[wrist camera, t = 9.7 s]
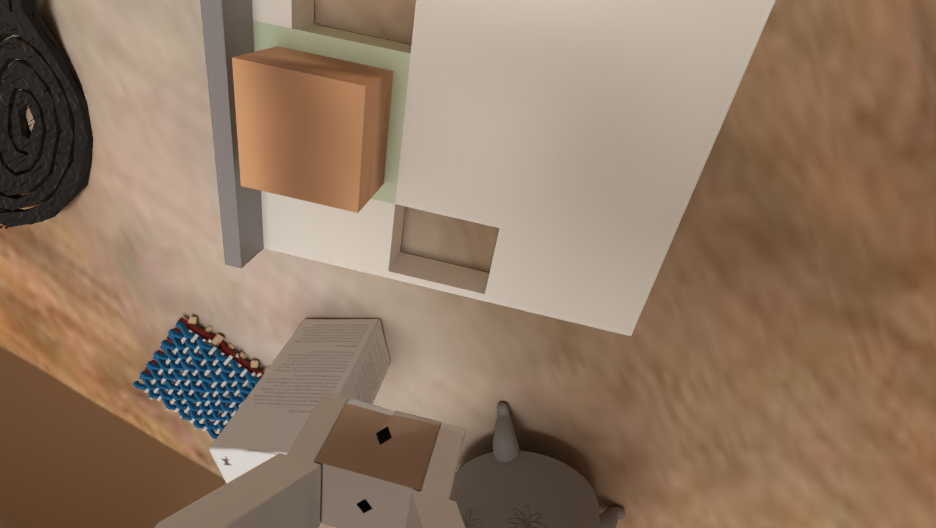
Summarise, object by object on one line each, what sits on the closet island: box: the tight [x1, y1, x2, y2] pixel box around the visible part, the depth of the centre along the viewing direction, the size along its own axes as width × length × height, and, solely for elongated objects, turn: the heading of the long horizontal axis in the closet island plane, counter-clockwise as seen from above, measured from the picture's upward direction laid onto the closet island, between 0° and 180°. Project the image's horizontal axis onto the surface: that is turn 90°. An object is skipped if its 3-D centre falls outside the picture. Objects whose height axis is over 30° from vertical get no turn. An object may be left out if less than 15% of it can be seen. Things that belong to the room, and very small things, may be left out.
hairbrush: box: [0, 0, 93, 229], centre depth 29 cm, size 8×4×25 cm
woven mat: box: [133, 316, 269, 439], centre depth 42 cm, size 10×11×2 cm
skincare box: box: [209, 319, 390, 484], centre depth 32 cm, size 6×4×12 cm
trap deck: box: [200, 0, 775, 336], centre depth 26 cm, size 24×18×5 cm
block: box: [232, 46, 393, 213], centre depth 25 cm, size 6×6×4 cm
